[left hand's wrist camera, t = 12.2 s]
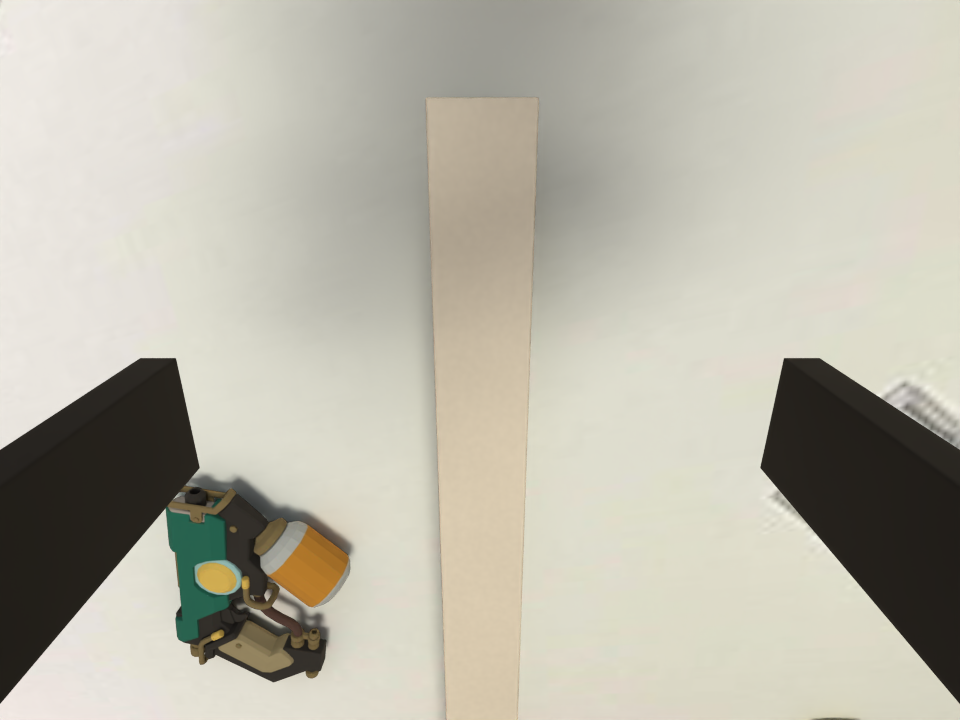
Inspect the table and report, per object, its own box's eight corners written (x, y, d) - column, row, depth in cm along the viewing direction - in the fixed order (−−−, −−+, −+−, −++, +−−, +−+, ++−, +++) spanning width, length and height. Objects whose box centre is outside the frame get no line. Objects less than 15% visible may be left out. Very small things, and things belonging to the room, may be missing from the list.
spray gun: (317, 667, 48) (145, 606, 46) (386, 531, 41) (189, 453, 40) (300, 716, 44) (111, 652, 42) (373, 575, 37) (153, 491, 36)
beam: (438, 106, 31) (425, 97, 24) (525, 106, 31) (539, 97, 24) (456, 797, 54) (452, 902, 46) (507, 797, 54) (511, 902, 46)
